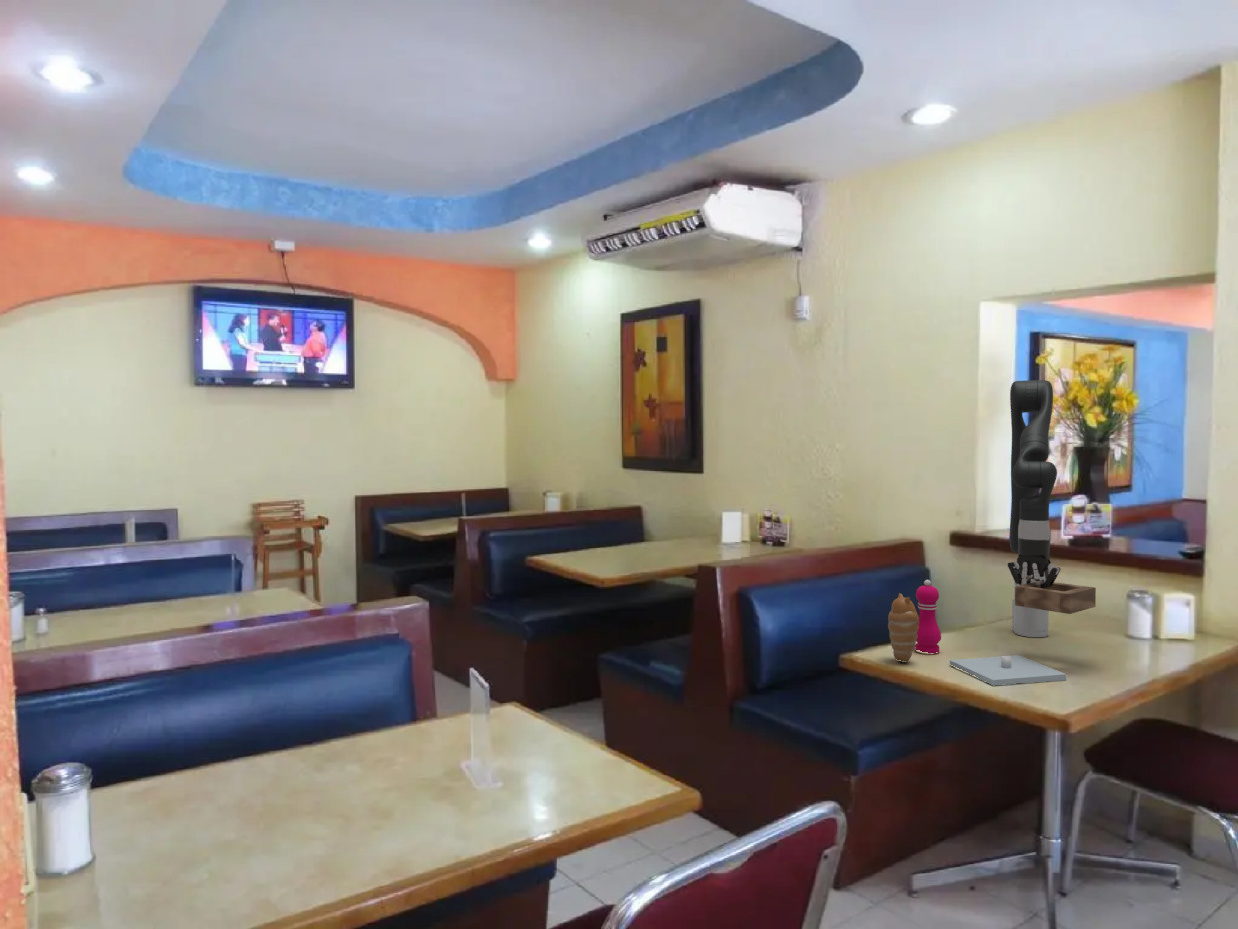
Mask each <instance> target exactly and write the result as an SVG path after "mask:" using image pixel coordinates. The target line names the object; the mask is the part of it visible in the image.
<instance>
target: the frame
mask: <svg viewBox="0 0 1238 929" xmlns="http://www.w3.org/2000/svg"><path fill="white" fill-rule="evenodd" d="M1014 587H1015V606H1021V607H1028V608H1034V609H1041V610H1047V611H1049V612H1054V613H1060V614H1061V613H1062V614H1067V615H1071V614H1072V615H1073V614H1075V613H1079V612H1082V611H1086V610H1089V609H1093V608H1096V595H1097V594H1096V587H1093V586H1088V585H1077V584H1073V583H1071V584H1070V583H1063V582H1055V581H1054V583H1053V585H1052V586H1051V587H1047V588H1045V589H1043V588H1036V582H1033V583H1029V584H1024V585H1020V586H1015V585H1014Z"/></svg>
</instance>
